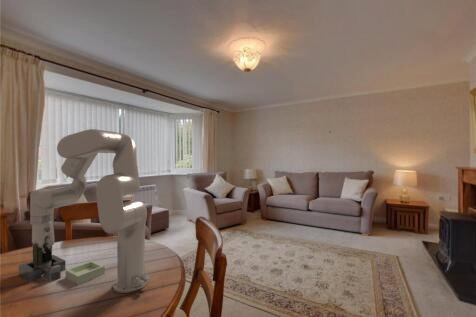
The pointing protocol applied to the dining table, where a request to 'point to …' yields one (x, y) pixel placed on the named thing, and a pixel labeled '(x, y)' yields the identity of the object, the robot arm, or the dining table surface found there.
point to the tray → (85, 272)
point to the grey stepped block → (52, 273)
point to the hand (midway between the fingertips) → (42, 258)
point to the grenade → (39, 258)
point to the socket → (37, 269)
